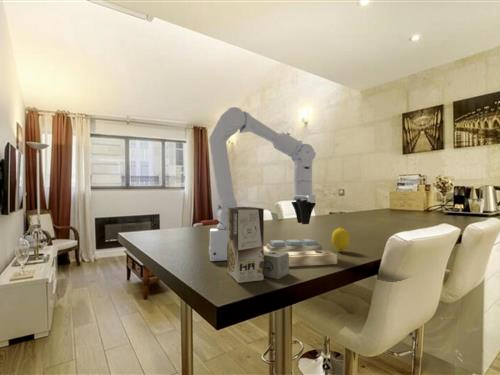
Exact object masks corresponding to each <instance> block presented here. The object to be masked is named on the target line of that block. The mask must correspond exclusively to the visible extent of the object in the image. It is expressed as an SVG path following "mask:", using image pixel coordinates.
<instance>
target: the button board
mask: <svg viewBox="0 0 500 375" xmlns="http://www.w3.org/2000/svg"><path fill="white" fill-rule="evenodd" d="M268 251H277V252H284V253H289V267H303V266H304V267H305V266H306V267H307V266H322V265H323V266H324V265H337V264H338V254H336V253H334V252H332V251H330V250H328V249H326V248H323V245H321V244H319V243H317V245H314V246H305V245H303V244H302V246H288V245H286V247H272V246H271V243H266V245H264V253H265V252H268Z"/></svg>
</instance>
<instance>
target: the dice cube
mask: <svg viewBox="0 0 500 375" xmlns="http://www.w3.org/2000/svg"><path fill="white" fill-rule="evenodd" d="M289 268H290V266H289V253H284V252H277V251H268V252H265V253H264V277H266V278H272V279H276V280H279V279H281V278H283V277H285V276H287V275H289V274H290V269H289Z"/></svg>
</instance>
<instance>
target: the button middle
mask: <svg viewBox="0 0 500 375" xmlns="http://www.w3.org/2000/svg"><path fill="white" fill-rule="evenodd" d="M285 243H286V245H288V246H302V240H299V239H286V240H285Z"/></svg>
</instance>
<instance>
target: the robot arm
mask: <svg viewBox="0 0 500 375" xmlns="http://www.w3.org/2000/svg"><path fill="white" fill-rule="evenodd" d="M238 131H239V134H241V133H252V134H254V135H256V136H258V137H260V138H262V139H265V140H267V141H268V142H270V143H272V145H273V149H275V150H277V151H279V152H281V153H283V154H285V155H286V156H288V157H289V158H291V160H292V161H293V164H294V165H293V166H294V167H293V169H294V170H293V174H294V176H293V177H294V178H293V185H294V187H293V193H294V194H292V201H291V205H292V207H293V208H294V211H295V216H296V220H297V221H296V222H297V224H301V225H309V224H310V221H311V216H312V214H313V210H314V208H315V206H316V195H315V194H313V161H314V160H315V157H316V152H315V149H314V148H313V146H312V145H311V144H309V143H303V141H302V140H300V139H299V140H298V139H296V138H294V137H293V136H291V133H290V132H288V131H287V132H284V131H283V132H282V131H281V132H277V131H275V130H273V129H272V128H270V127H269V126H267V125H265V124H264V123H262V122H261V121H259V120H258V119H257V118H255V117H254V116H252V115H251V114H250V113H249V112H247V111H245V110H244V111H243V109H241V108H240V107H236V106H232V107H229V108H227V109H226V110H225V111H224V112H223V113H222V114H221V115H220V117H219V119H218V120H217V122H216V124H215V126H214V128H213V130H212V132H211V133H210V136H209V139H208V142H209V148H210V156H211V161H212V167H213V168H212V169H213V174H214V181H215V190H216V192H217V194H216V195H217V210H216V213H215V215H216V220H217V221H218V224H217V225H216V227H215V228H212V227H211V228H210V229H209V246H208V254H209V261H211V262H216V261H217V262H218V261H219V262H221V261H227V208H235V207H238V203H237V200H236V197H235V194H234V187H233V181H232V174H231V167H230V161H229V160H230V159H229V154H228V153H229V152H228V148H227V146H228V145H227V142H228V140H229V139H230V137H232V136H233V135H235V134H236V133H237V132H238Z"/></svg>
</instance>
